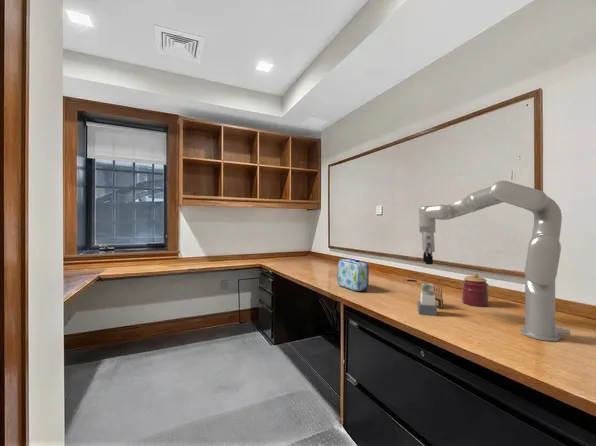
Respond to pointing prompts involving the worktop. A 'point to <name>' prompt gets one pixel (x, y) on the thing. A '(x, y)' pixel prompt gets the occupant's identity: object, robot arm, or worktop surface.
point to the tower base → (427, 309)
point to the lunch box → (353, 274)
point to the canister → (475, 291)
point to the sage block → (427, 289)
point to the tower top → (428, 299)
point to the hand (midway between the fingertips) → (427, 263)
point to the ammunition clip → (438, 296)
